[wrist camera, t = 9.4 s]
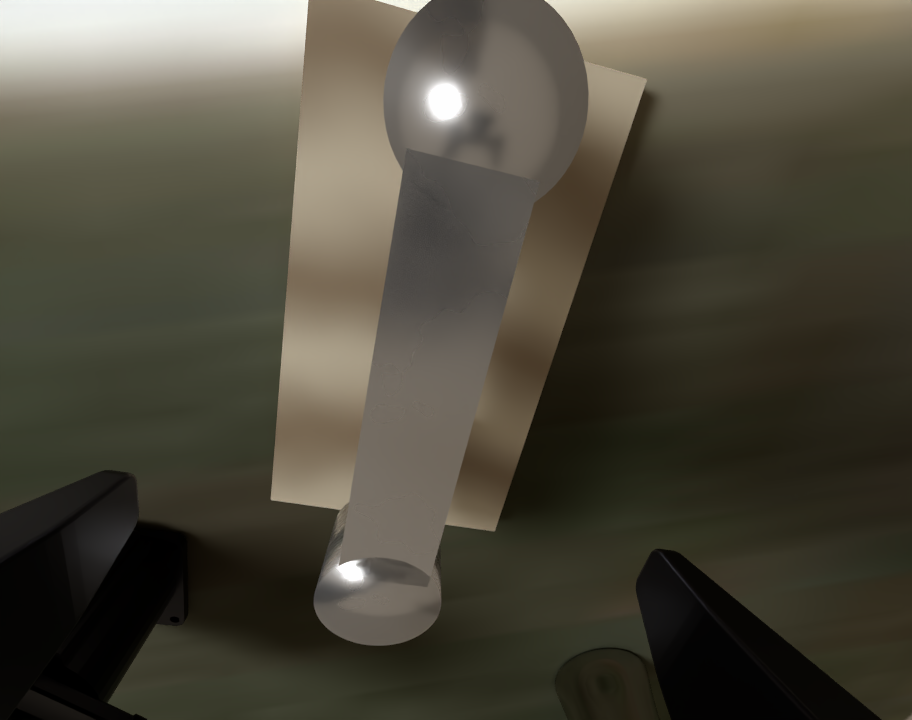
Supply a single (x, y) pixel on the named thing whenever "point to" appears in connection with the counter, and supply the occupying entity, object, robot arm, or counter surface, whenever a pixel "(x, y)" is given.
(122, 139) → the counter surface
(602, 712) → the beer glass
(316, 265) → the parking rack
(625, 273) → the counter surface
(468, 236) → the grey rod with balls
